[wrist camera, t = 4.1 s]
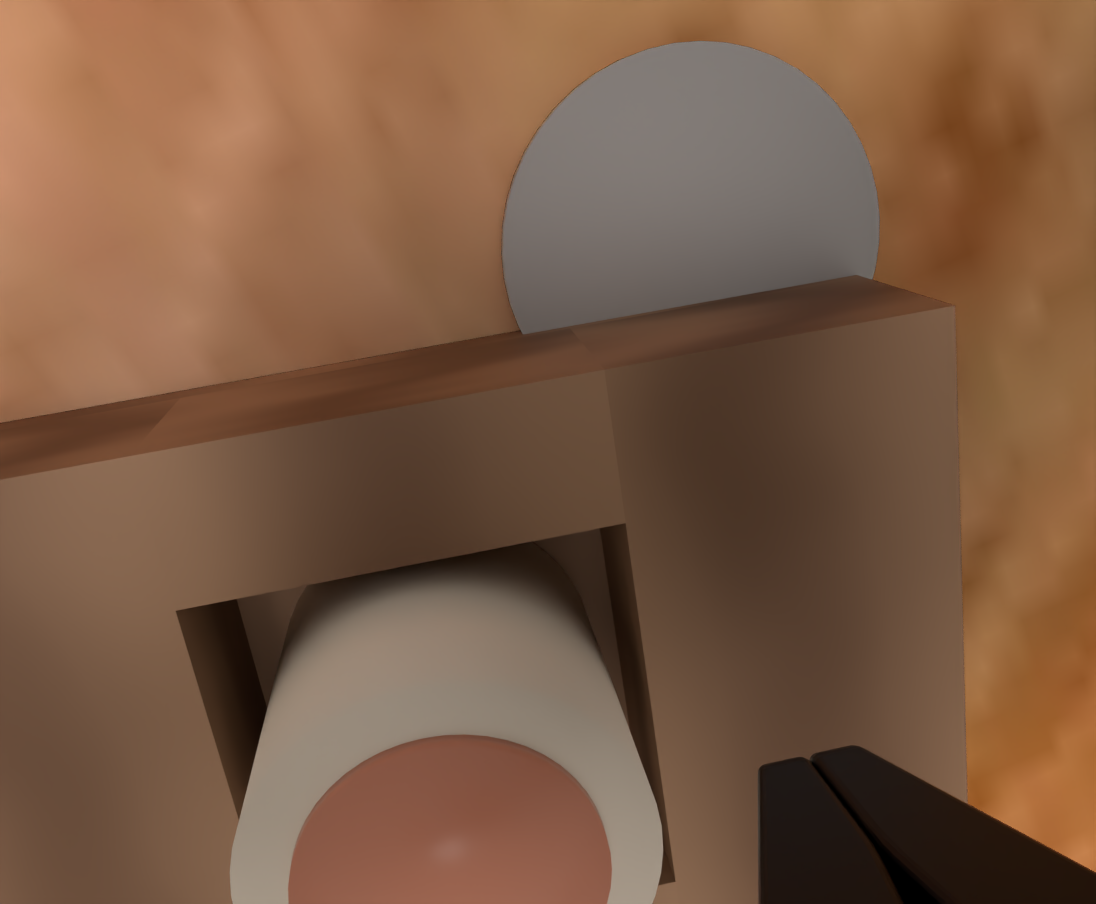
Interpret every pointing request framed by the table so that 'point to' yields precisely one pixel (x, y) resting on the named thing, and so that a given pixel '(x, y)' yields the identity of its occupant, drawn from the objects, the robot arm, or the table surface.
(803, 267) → the mat
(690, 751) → the brown wooden block
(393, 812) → the cream short cylinder
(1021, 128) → the table surface
